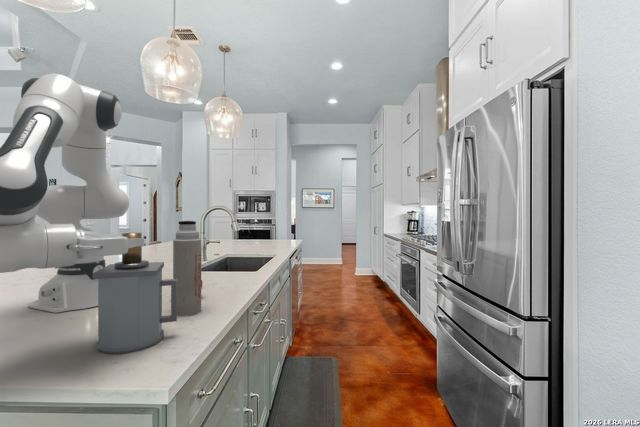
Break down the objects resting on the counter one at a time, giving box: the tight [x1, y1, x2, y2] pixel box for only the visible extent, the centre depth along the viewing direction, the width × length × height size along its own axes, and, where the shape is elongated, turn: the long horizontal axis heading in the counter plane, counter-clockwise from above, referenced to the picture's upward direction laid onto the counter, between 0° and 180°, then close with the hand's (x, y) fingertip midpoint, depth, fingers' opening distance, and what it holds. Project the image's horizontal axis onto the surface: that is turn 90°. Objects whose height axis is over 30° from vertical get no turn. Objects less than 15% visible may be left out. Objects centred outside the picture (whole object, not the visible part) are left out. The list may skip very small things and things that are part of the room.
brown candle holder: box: [113, 232, 150, 269], centre depth 74 cm, size 10×10×19 cm
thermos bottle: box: [172, 220, 202, 317], centre depth 96 cm, size 8×8×28 cm
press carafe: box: [93, 261, 178, 355], centre depth 75 cm, size 17×14×18 cm
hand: (136, 240), depth 75 cm, fingers open, 7 cm apart
